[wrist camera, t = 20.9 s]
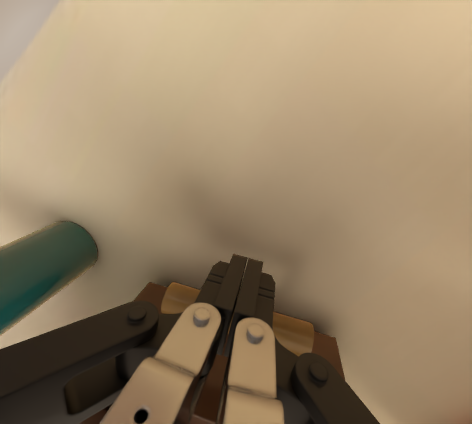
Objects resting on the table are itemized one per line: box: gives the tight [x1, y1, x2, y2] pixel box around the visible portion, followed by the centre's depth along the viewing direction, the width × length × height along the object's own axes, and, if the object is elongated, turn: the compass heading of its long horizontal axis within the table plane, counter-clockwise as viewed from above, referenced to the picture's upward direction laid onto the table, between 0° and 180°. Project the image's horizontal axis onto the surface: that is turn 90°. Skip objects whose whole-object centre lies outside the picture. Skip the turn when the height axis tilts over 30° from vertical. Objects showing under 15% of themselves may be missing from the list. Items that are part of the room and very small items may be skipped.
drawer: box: [104, 282, 345, 424], centre depth 16 cm, size 19×14×7 cm
